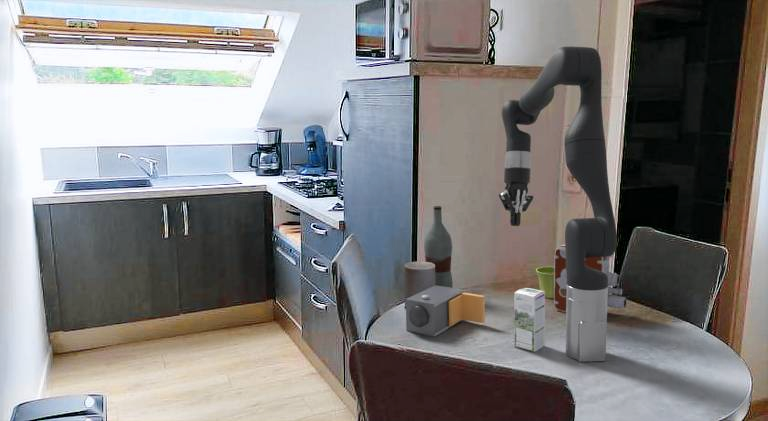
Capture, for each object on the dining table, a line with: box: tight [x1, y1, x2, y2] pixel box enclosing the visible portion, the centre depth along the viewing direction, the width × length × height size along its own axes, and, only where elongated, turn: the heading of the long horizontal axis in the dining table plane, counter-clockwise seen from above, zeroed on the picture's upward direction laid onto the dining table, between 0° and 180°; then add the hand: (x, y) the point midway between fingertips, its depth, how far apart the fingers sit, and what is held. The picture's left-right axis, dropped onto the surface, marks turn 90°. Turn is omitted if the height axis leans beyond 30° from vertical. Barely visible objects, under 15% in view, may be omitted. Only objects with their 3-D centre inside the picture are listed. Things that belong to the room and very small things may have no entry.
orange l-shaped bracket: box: [449, 292, 486, 327], centre depth 157 cm, size 8×7×8 cm
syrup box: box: [513, 287, 546, 353], centre depth 142 cm, size 6×6×14 cm
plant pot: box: [535, 266, 554, 299], centre depth 184 cm, size 9×9×9 cm
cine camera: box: [553, 243, 628, 313], centre depth 165 cm, size 9×19×20 cm, turn 53°
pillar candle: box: [403, 260, 435, 310], centre depth 175 cm, size 10×10×15 cm
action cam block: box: [405, 285, 464, 338], centre depth 159 cm, size 17×9×10 cm, turn 145°
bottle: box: [423, 205, 454, 288], centre depth 186 cm, size 9×9×30 cm
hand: (515, 225), depth 168 cm, fingers closed
